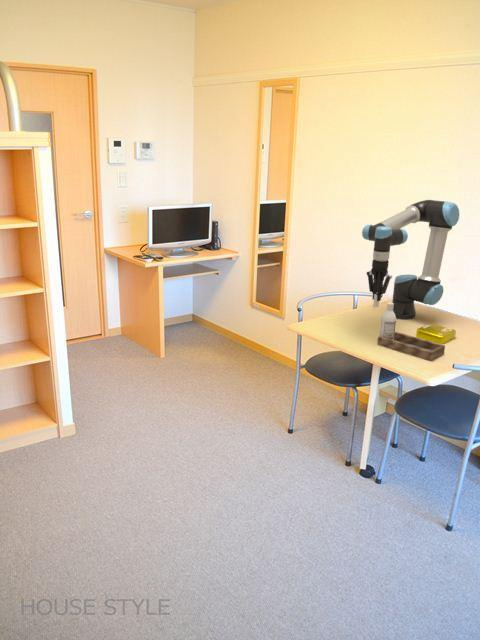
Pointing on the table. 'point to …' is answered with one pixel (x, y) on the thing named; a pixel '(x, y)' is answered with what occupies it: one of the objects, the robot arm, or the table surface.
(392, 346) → the brown wooden tray
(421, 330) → the element tile
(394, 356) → the table surface
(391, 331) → the bath foam
